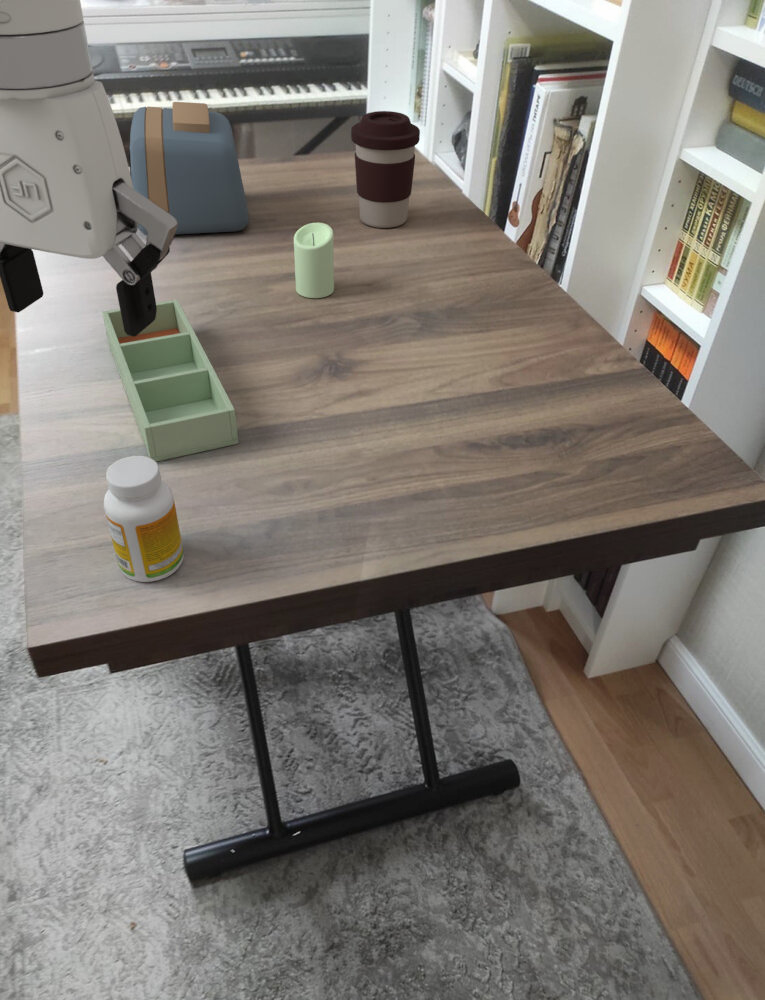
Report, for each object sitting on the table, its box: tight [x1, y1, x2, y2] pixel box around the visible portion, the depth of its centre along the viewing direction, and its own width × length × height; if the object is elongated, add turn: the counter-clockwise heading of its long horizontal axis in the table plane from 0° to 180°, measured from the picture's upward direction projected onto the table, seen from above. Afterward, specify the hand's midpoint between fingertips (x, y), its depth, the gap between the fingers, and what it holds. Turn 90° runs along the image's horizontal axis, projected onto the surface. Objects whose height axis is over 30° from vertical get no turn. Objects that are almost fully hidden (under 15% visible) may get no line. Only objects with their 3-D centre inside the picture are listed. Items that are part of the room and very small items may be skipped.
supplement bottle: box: [103, 455, 184, 583], centre depth 67 cm, size 5×5×10 cm
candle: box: [293, 222, 335, 299], centre depth 107 cm, size 5×5×8 cm
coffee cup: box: [350, 110, 421, 229], centre depth 124 cm, size 10×10×15 cm
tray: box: [101, 299, 239, 463], centre depth 89 cm, size 9×25×4 cm, turn 23°
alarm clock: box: [128, 101, 250, 236], centre depth 123 cm, size 16×16×16 cm
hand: (83, 315), depth 61 cm, fingers open, 9 cm apart
